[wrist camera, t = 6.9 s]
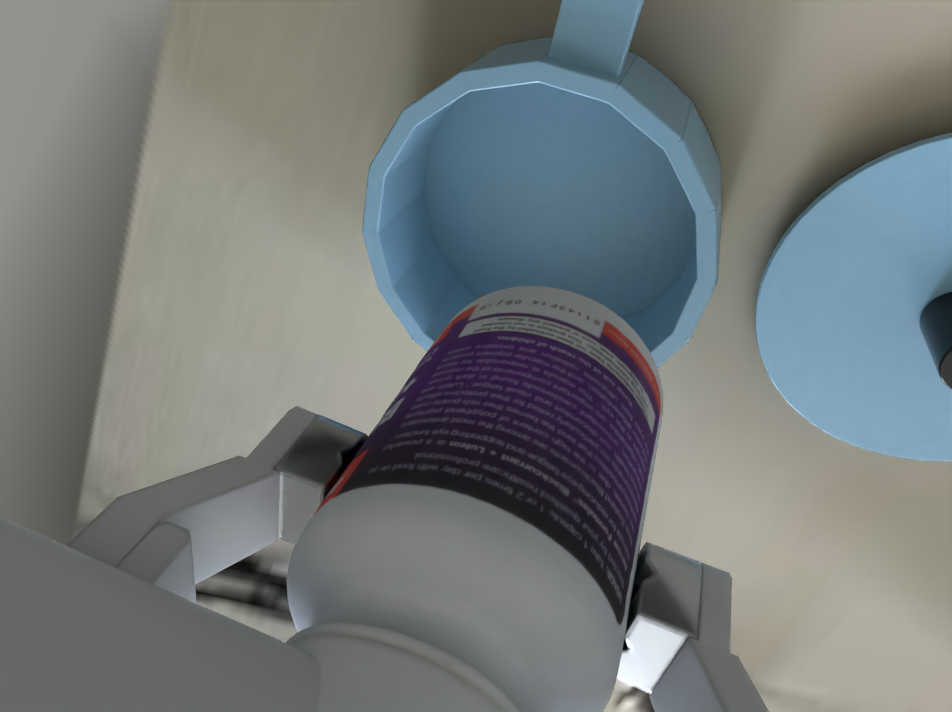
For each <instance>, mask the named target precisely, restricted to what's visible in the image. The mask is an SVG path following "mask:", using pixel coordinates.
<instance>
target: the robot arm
mask: <svg viewBox="0 0 952 712" xmlns="http://www.w3.org/2000/svg"><path fill="white" fill-rule="evenodd" d="M367 438H368V436H367V435H366V434H364V433H362V432H360V431H357V430H355V429H352V428H350V427H348V426H345V425H343V424H340V423H338V422H336V421H333V420H331V419H328V418H326V417H324V416H321V415H318V414H315V413H313V412H310V411H308V410H306V409H303V408H301V407H298V406H296V407H294V408H293V409H291V410H289V411H288V412H287V413H286V415H285V416H284V417H283V418H282V419H281V420H280V421H279V422H278V423H277V425H276V426H275V427H274V428H273V429H272V430H271V431H270V432H269V434H268V435H267V436H266V437H265V438H264V439H263V440H262V441H261V442H260V444H259V445H258V446H257V447H256V448H255V449H254V450H253V451H252V452H251V454H250V455H249V456H248V457H247V458H244V457H241V456H237V457H234V458H231V459H228V460H225V461H222V462H220V463H217V464H214V465H211V466H208V467H205V468H202V469H199V470H196V471H193V472H190V473H187V474H184V475H181V476H178V477H176V478H173V479H170V480H167V481H164V482H161V483H158V484H155V485H152V486H149V487H146V488H143V489H140V490H137V491H134V492H132V493H129V494H126V495H123V496H120V497H117V498H116V499H115V500H114V501H113V502H112V503H111V504H110V505H109V506H108V507H107V508H106V509H105V510H104V511H103V512H101V513H100V514H99V515H98V516H97V517H96V518H95V519H94V520H93V521H92V522H91V523H90V524H89V525H88V526H87V527H86V528H85V529H84V530H82V531H81V532H80V533H79V534H78V535H77V536H76V537H75V538H74V539H73V540H72V541H71V542H70V543H69V544H68V545H67V546H65V545H63V544H61V543H59V542H57V541H54V540H52V539H50V538H48V537H45V536H43V535H41V534H39V533H36V532H34V531H32V530H29V529H27V528H25V527H23V526H20V525H18V524H16V523H14V522H11V521H9V520H7V519H5V518H3V517H0V712H317V709H318V700H319V691H320V675H321V667H320V664H319V662H318V661H317V659H316V658H315V657H314V656H312V655H311V654H310V653H307V652H305V651H303V650H300V649H298V648H296V647H294V646H291V645H289V644H287V643H285V642H282V641H280V640H278V639H276V638H273V637H271V636H269V635H267V634H264V633H262V632H260V631H258V630H255V629H253V628H251V627H249V626H246V625H244V624H242V623H240V622H237V621H235V620H233V619H231V618H228V617H226V616H224V615H221V614H219V613H217V612H215V611H212V610H210V609H208V608H206V607H203V606H201V605H199V604H197V602H196V590H195V585H196V584H197V583H199V582H201V581H203V580H205V579H207V578H208V577H210V576H212V575H214V574H216V573H218V572H220V571H221V570H223V569H225V568H227V567H229V566H231V565H233V564H234V563H236V562H238V561H240V560H242V559H244V558H245V557H247V556H249V555H251V554H253V553H255V552H257V551H258V550H260V549H262V548H264V547H266V546H268V545H270V544H271V543H273V542H275V541H277V538H280V539H282V540H285V541H287V542H290V543H293V544H295V545H296V543H297V541H298V539H299V537H300V536H301V534H302V533H303V531H304V529H305V528H306V526H307V524H308V523H309V521H310V519H311V518H312V516H313V515H314V513H315V512H316V510H317V509H318V508H319V506H320V505H321V504H322V502H323V501H324V499H325V498H326V496H327V495H328V494H329V492H330V491H331V489H332V488H333V487H334V485H335V484H336V482H337V481H338V480H339V478H340V477H341V475H342V474H343V472H344V471H345V470H346V468H347V467H348V465H349V464H350V462H351V461H352V460H353V458H354V457H355V455H356V454H357V452H358V451H359V449H360V448H361V447H362V445H363V444H364V442H365V441H366V440H367ZM731 591H732V578H731V576H730V573H728V572H725V571H722V570H720V569H717V568H714V567H712V566H709V565H706V564H704V563H700V562H699V561H696V560H693V559H691V558H688V557H685V556H683V555H680V554H677V553H675V552H672V551H669V550H667V549H664V548H661V547H659V546H656V545H653V544H651V543H648V542H646V543H645V545H644V546H643V547H642V549H641V551H640V553H639V555H638V561H637V567H636V573H635V579H634V585H633V591H632V597H631V603H630V609H629V614H628V620H627V626H626V632H625V638H624V644H623V650H622V655H621V660H620V665H619V670H618V675H617V679H618V680H621V681H623V682H625V683H627V684H629V685H632V686H634V687H636V688H638V689H641V690H643V691H645V692H647V693H649V694H650V695H649V697H650V700H651V703H652V706H653V708H654V711H655V712H769V711H768V709H767V707H766V706H765V704H764V702H763V700H762V698H761V697H760V695H759V693H758V691H757V689H756V688H755V686H754V684H753V682H752V680H751V679H750V677H749V675H748V673H747V672H746V670H745V668H744V666H743V664H742V663H741V661H740V659H739V657H737V656H735V655H733V654H730V632H731Z"/></svg>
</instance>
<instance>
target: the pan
mask: <svg viewBox="0 0 952 712" xmlns="http://www.w3.org/2000/svg"><path fill="white" fill-rule="evenodd" d="M643 2H644V0H562V1H561V5H560V9H559V13H558V17H557V21H556V25H555V29H554V33H553V37H545V38H536V39H531V40H527V41H522V42H516V43H510V44H503V45H501V46H499V47H498V48H496V49H494V50H493V51H491V52H490V53H488V54H487V55H485V56H484V57H482V58H480V59H479V60H477V61H476V62H474V63H473V64H471V65H470V66H468V67H466V68H465V69H463V70H462V71H460V72H459V73H457V74H456V75H454V76H453V77H451V78H450V79H448V80H447V81H445V82H444V83H442V84H441V85H439V86H438V87H436V88H435V89H433V90H432V91H430V92H429V93H427V94H426V95H424V96H423V97H421V98H420V99H418V100H417V101H415V102H414V103H412V104H411V105H409V106H408V107H406V108H405V109H404V110H403V111H402V112H401V114H400V115H399V117H398V119H397V120H396V122H395V124H394V125H393V127H392V129H391V131H390V132H389V134H388V136H387V137H386V139H385V141H384V142H383V144H382V146H381V148H380V149H379V151H378V153H377V154H376V156H375V158H374V159H373V161H372V163H371V165H370V168H369V173H368V182H367V191H366V200H365V209H364V218H363V227H362V229H363V231H362V232H363V236H364V240H365V243H366V247H367V250H368V254H369V258H370V261H371V265H372V268H373V272H374V276H375V279H376V283H377V287H378V289H379V292H380V293H381V295H382V296H383V297H384V299H385V300H386V302H387V303H388V305H389V306H390V308H391V309H392V310H393V312H394V313H395V315H396V316H397V318H398V319H399V321H400V322H401V323H402V325H403V326H404V328H405V329H406V331H407V332H408V333H409V335H410V336H411V338H412V339H413V340H415V342H416V343H417V344H419V345H420V346H421V347H423V348H424V349H425V350H427V351H428V350H429V348H430V347H431V346H432V344H433V343H434V341H435V340H436V339H437V337H438V336H439V334H440V333H441V332H442V331H443V330H444V328H445V327H446V326H447V325H448V323H449V322H450V321H451V320H452V319H453V318H454V317H455V316H456V314H458V313H459V312H460V311H461V310H462V309H464V308H465V307H466V306H467V305H469V304H470V303H472V302H473V301H475V300H477V299H479V298H481V297H483V296H485V295H487V294H490V293H492V292H495V291H499V290H502V289H506V288H512V287H520V286H543V287H552V288H558V289H562V290H567V291H571V292H574V293H577V294H579V295H582V296H585V297H588V298H590V299H592V300H594V301H596V302H598V303H600V304H602V305H604V306H605V307H607V308H608V309H610V310H611V311H613V312H614V313H615V314H617V315H618V316H619V317H621V318H622V319H623V320H624V321H625V322H626V323H627V324H628V325H629V326H630V327H631V328H632V329H633V330H634V331H635V332H636V333H637V334H638V336H639V337H640V338H641V339H642V341H643V342H644V344H645V345H646V347H647V348H648V350H649V352H650V353H651V355H652V357H653V359H654V361H655V364H656V366H657V368H658V367H659V366H660V365H661V364H662V363H664V362H665V361H666V360H667V359H668V358H670V357H671V356H672V355H673V354H674V353H676V352H677V351H678V350H679V349H680V348H681V347H683V346H684V345H685V344H686V343H687V342H688V341H689V340H690V338H691V336H692V334H693V332H694V330H695V328H696V326H697V324H698V322H699V319H700V317H701V315H702V313H703V311H704V309H705V307H706V305H707V303H708V300H709V298H710V296H711V294H712V292H713V290H714V288H715V286H716V284H717V279H718V267H719V252H720V236H721V164H720V160H719V158H718V156H717V154H716V151H715V149H714V147H713V144H712V142H711V139H710V136H709V134H708V131H707V129H706V127H705V125H704V123H703V122H702V120H701V118H700V116H699V114H698V113H697V110H696V108H695V106H694V104H693V102H692V101H691V100H690V98H688V97H687V96H686V95H685V94H684V93H683V92H682V91H681V90H680V89H679V88H678V87H677V86H676V85H675V84H674V83H673V82H672V81H671V80H670V79H669V78H668V77H667V76H666V75H664V74H663V73H662V72H660V71H659V70H658V69H656V68H655V67H654V66H652V65H651V64H649V63H648V62H647V61H645V60H644V59H643V58H642V57H640V56H639V55H637V54H635V53H632V52H629V51H628V50H629V47H630V44H631V40H632V37H633V34H634V31H635V28H636V24H637V21H638V18H639V15H640V11H641V8H642V5H643Z"/></svg>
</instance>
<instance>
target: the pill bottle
mask: <svg viewBox="0 0 952 712" xmlns="http://www.w3.org/2000/svg"><path fill="white" fill-rule="evenodd" d="M662 415H663V390H662V384H661V379H660V375H659V372H658V369H657V366H656V364H655V361H654V359H653V357H652V355H651V353H650V352H649V350H648V348H647V347H646V345H645V344H644V342H643V341H642V339H641V338H640V337H639V336H638V334H637V333H636V332H635V331H634V330H633V329H632V328H631V327H630V326H629V325H628V324H627V323H626V322H625V321H624V320H623V319H622V318H621V317H619V316H618V315H617V314H615V313H614V312H613V311H611V310H610V309H608V308H607V307H605V306H604V305H602V304H600V303H598V302H596V301H594V300H592V299H590V298H588V297H585V296H582V295H579V294H577V293H574V292H571V291H567V290H562V289H558V288H552V287H543V286H520V287H512V288H506V289H502V290H499V291H495V292H492V293H490V294H487V295H485V296H483V297H481V298H479V299H477V300H475V301H473V302H472V303H470V304H469V305H467V306H466V307H465V308H464V309H462V310H461V311H460V312H459V313H458V314H456V316H455V317H454V318H453V319H452V320H451V321H450V322H449V323H448V325H447V326H446V327H445V328H444V330H443V331H442V332H441V333H440V334H439V336H438V337H437V339H436V340H435V341H434V343H433V344H432V346H431V347H430V348H429V350H428V352H427V353H426V355H425V356H424V357H423V358H422V360H421V361H420V363H419V364H418V366H417V368H416V369H415V370H414V372H413V373H412V375H411V376H410V378H409V379H408V381H407V382H406V383H405V385H404V386H403V388H402V389H401V391H400V392H399V394H398V395H397V396H396V398H395V399H394V401H393V402H392V403H391V405H390V406H389V408H388V409H387V411H386V412H385V414H384V415H383V417H382V418H381V420H380V421H379V423H378V424H377V425H376V427H375V428H374V430H373V431H372V432H371V434H370V435H369V437H368V438H367V440H366V441H365V442H364V444H363V445H362V447H361V448H360V449H359V451H358V452H357V454H356V455H355V457H354V458H353V460H352V461H351V462H350V464H349V465H348V467H347V468H346V470H345V471H344V472H343V474H342V475H341V477H340V478H339V480H338V481H337V482H336V484H335V485H334V487H333V488H332V489H331V491H330V492H329V494H328V495H327V496H326V498H325V499H324V501H323V502H322V504H321V505H320V506H319V508H318V509H317V510H316V512H315V513H314V515H313V516H312V518H311V519H310V521H309V523H308V524H307V526H306V528H305V529H304V531H303V533H302V534H301V536H300V537H299V539H298V541H297V543H296V546H295V548H294V550H293V553H292V556H291V560H290V564H289V568H288V574H287V594H288V602H289V607H290V612H291V615H292V618H293V621H294V624H295V627H296V629H297V631H298V633H296V634H295V635H294V636H292V637H291V638H290V639H289V640H288V641H287V642H286V643H287V644H289V645H291V646H294V647H296V648H298V649H300V650H303V651H305V652H307V653H310V654H311V655H312V656H314V657H315V658H316V659H317V661H318V662H319V664H320V667H321V675H320V691H319V700H318V709H317V712H602V711H603V710H604V709H605V707H606V705H607V703H608V701H609V699H610V697H611V694H612V692H613V689H614V686H615V682H616V679H617V675H618V670H619V665H620V660H621V655H622V650H623V644H624V638H625V632H626V626H627V620H628V614H629V609H630V603H631V597H632V591H633V585H634V579H635V573H636V567H637V561H638V555H639V549H640V543H641V538H642V532H643V526H644V520H645V514H646V508H647V502H648V497H649V491H650V485H651V479H652V474H653V468H654V463H655V458H656V452H657V447H658V440H659V435H660V429H661V423H662Z"/></svg>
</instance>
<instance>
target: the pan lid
mask: <svg viewBox="0 0 952 712" xmlns="http://www.w3.org/2000/svg"><path fill="white" fill-rule="evenodd" d="M755 317H756V336H757V342H758V346H759V351H760V355H761V358H762V361H763V363H764V366H765V368H766V371H767V373H768V375H769V376H770V378H771V380H772V382H773V383H774V385H775V387H776V388H777V390H778V391H779V392H780V393H781V395H782V396H783V397H784V398H785V399H786V401H787V402H788V403H789V404H790V405H791V406H792V407H793V408H794V409H795V410H796V411H797V412H798V413H799V414H801V415H802V416H803V417H804V418H805V419H807V420H808V421H809V422H811V423H812V424H814V425H815V426H816V427H818V428H819V429H821V430H823V431H824V432H826V433H828V434H830V435H832V436H834V437H836V438H837V439H839V440H842V441H844V442H847V443H849V444H852V445H854V446H856V447H859V448H862V449H866V450H869V451H872V452H876V453H879V454H884V455H889V456H894V457H899V458H905V459H915V460H925V461H952V132H951V133H947V134H943V135H939V136H935V137H931V138H927V139H923V140H920V141H917V142H915V143H912V144H909V145H906V146H904V147H901V148H898V149H895V150H893V151H891V152H888V153H886V154H884V155H882V156H880V157H878V158H876V159H874V160H872V161H870V162H868V163H866V164H864V165H862V166H861V167H859V168H858V169H856V170H854V171H853V172H851V173H849V174H848V175H846V176H845V177H843V178H841V179H840V180H839V181H837V182H836V183H835V184H833V185H832V186H831V187H830V188H828V189H827V190H826V191H825V192H823V193H822V194H821V195H819V196H818V197H817V198H816V199H815V200H814V201H813V202H812V203H811V204H810V205H809V206H808V207H807V208H806V209H805V210H804V211H803V212H802V213H801V214H800V215H799V216H798V217H797V218H796V220H795V221H794V222H793V223H792V225H791V226H790V227H789V228H788V230H787V231H786V232H785V233H784V235H783V236H782V238H781V240H780V241H779V243H778V245H777V246H776V248H775V250H774V251H773V253H772V255H771V257H770V259H769V261H768V264H767V266H766V268H765V271H764V273H763V276H762V280H761V283H760V287H759V291H758V295H757V304H756V314H755Z"/></svg>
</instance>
